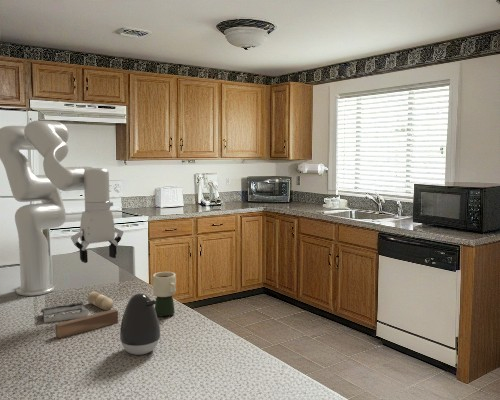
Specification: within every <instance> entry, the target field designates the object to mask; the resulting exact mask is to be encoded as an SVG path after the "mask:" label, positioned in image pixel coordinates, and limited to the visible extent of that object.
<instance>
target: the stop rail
mask: <svg viewBox="0 0 500 400" xmlns="http://www.w3.org/2000/svg"><path fill="white" fill-rule="evenodd" d="M117 323H119V311H118V310H117V309H110V310H106V311H103V312H99V313H95V314H91V315H88V316H86V317H82V318H75V319H69V320H67V321H62V322H59V323H55V325H54V326H55V337H56V338H58V339H62V338H66V337H70V336H73V335H77V334H81V333H84V332H88V331H92V330H95V329H98V328H103V327H105V326H109V325H113V324H117Z"/></svg>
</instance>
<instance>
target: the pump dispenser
mask: <svg viewBox="0 0 500 400" xmlns="http://www.w3.org/2000/svg"><path fill="white" fill-rule="evenodd" d="M155 304H156V299H154V300H153V299H152V300H151V298H150V297H149V296H148V295H147V294H145V293H136V294H134V295H132V296H131V297H130V299H129V300H128V302H127V304H126V306H125V309H124V312H123V315H122V318H121V323H120V329H119V341H120V343H121V345H122V348H123V349H124V350H125V351H126V352H127V353H128V354H132V355H136V356H140V355H141V356H142V355H146V354H149V353H151V352H152V351H153V350H155V348H156V346H157V345H158V343H159V340H160V338H161V328H160V322H159V319H158V316H157V314H156V311H155Z"/></svg>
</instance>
